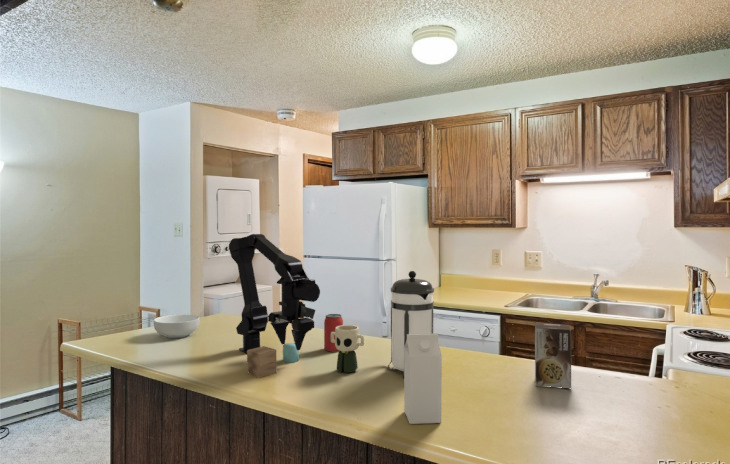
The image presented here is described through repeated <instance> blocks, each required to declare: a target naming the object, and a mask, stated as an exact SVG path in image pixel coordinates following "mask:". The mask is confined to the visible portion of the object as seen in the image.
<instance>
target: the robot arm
mask: <svg viewBox="0 0 730 464" xmlns="http://www.w3.org/2000/svg"><path fill="white" fill-rule="evenodd" d="M228 249H229V254H230V257H231V258H232V260H233V261H234V263H236V265H237V268H238V269H237V270H238V275H239V280H240V285H241V292H242V298H243V302H244V303H243V304H244V306H243V309H242V311H241V321H240V322H239V323H238V325H237V326H236V327H235V328H236V329H235V330H236V334H237V335H240V336H241V335H242V347H240V348H238V351H241V352H243V353H245V354H247V350H250V349H254V348H258V347H261V333H262V332H265V331H266V328H267V325H268V323H269V322H270V325H271V326H272V328H273V329H274V331H275V333H276V337H277V338H278V340H279V342H280V345H284V344H286V338H287V336H286V335H287V327H288V325H290V324H291V328H292V329H291V334H292V338H293V343H295V346H296V349H297V350H299V351H300V350H301V349H302V345H303V342H304V339H305V337H306V335H307V333H308V332H309V331H312V329H314V328H315V321H314V316H315V313H316V309H314V308H311V307H307V306H306V303H303V301H305V302H311V303H315V302H316V301H318V299H319V298H320V295H321V290H320V286H319V285H318V284H317V283H316V279H313V278H312V279H310V277H309V275H308V274H307V271H306V270H305V268H304V266H303V262H302V261H301V260H300V259H298V257H295V256H292V255H290V254H286V253H285V252H284V251H282V250H281V249H280V248H279V247H277V246H276V245H275V244H274V243H273V242H271V241H270V240H269V239H268V238H266V236H265V234H262V233H252V234H250V235H246V236H243V237H236V238H235V237H233V238H232V239H231V240H230V241H229V243H228ZM255 250H257V252H259V253H261V254H262V255H263V257H265V258H266V259H267V260H268V261H270V262H271V263H272V264H273V265H274V266H273V267H274V270H275V272H276V273H277V274H278V275H279V277H280V278H279V279H278V280H277V281H276V284H277V285H281V301H278V305H279V306H281V310H279V311H273V312H270V313H268V307H267V305H262V303H261V302H260V299H259V294H258V293H259V292H258V288H257V282H256V276H255V271H254V265H253V259H254V258H255V254H256V251H255Z"/></svg>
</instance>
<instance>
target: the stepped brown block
mask: <svg viewBox="0 0 730 464" xmlns="http://www.w3.org/2000/svg"><path fill="white" fill-rule="evenodd" d="M246 356H247V357H246V360H247V363H248V362H249V363H252V364H254V365H257V366H262V365H266V364H269V363H273V362H276V363H277V349H276V348H271V347H268V346H265V345H263V346H260V347H258V348H254V349H250V350H247V353H246Z"/></svg>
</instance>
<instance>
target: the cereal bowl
mask: <svg viewBox="0 0 730 464" xmlns="http://www.w3.org/2000/svg"><path fill="white" fill-rule="evenodd" d="M200 320H201V318H200V316H199V315H196V314H169V315H168V314H167V315H162V316H159V317H156V318H154V319H153V329H154V330H155V332H157V334H159V335H162V336H164V337H166V338H167V339H181V338H186V337H187V336H188V335H190V334H192V333H194V332H196V331H197V330H198V328H199V327H200V323H201V322H200Z"/></svg>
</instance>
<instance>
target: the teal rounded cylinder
mask: <svg viewBox="0 0 730 464" xmlns="http://www.w3.org/2000/svg"><path fill="white" fill-rule="evenodd" d="M299 352H300V350H297V349H296V346H295V342H289V343H285V344H282V362H283V363H285V364H286V363H287V364H292V363H293V364H294V363H297V362H299V361H300V359H299V357H300V355H299V354H300V353H299Z"/></svg>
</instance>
